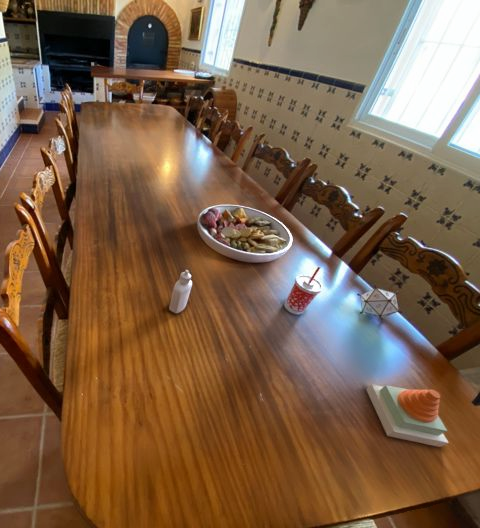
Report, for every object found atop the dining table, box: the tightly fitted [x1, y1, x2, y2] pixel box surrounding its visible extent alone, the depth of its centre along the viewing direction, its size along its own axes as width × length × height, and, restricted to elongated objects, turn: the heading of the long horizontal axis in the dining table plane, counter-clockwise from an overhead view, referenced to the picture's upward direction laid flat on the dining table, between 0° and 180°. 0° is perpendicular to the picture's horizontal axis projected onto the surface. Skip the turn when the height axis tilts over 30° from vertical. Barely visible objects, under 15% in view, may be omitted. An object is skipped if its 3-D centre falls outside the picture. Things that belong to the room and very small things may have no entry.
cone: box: [397, 388, 442, 423], centre depth 53 cm, size 6×6×5 cm
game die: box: [356, 284, 404, 322], centre depth 75 cm, size 9×8×10 cm
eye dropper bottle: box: [168, 269, 193, 314], centre depth 71 cm, size 4×6×12 cm
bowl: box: [196, 204, 293, 264], centre depth 98 cm, size 30×30×8 cm
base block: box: [365, 384, 449, 448], centre depth 56 cm, size 9×9×2 cm
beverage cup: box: [283, 266, 324, 315], centre depth 73 cm, size 6×6×14 cm
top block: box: [380, 385, 448, 435], centre depth 55 cm, size 7×7×2 cm
